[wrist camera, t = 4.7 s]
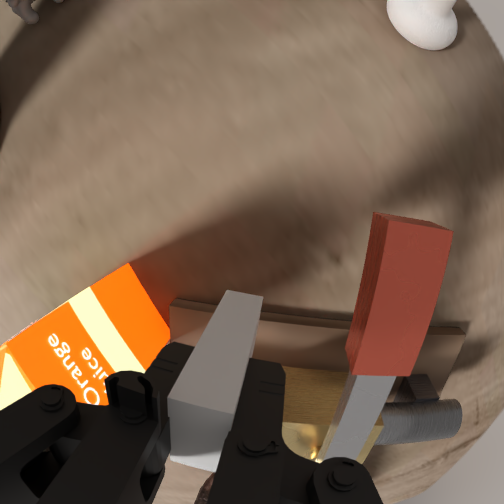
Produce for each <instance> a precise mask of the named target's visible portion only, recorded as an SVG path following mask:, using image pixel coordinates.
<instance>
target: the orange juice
mask: <svg viewBox="0 0 504 504" xmlns="http://www.w3.org/2000/svg"><path fill="white" fill-rule="evenodd" d="M31 324H32V323H31ZM27 327H28V326H27ZM24 329H25V328H24ZM14 336H15V335H14ZM11 338H12V337H11ZM169 339H170V329H169V328H168V326H167V325H166V323H165V322H164V320H163V319H162V317H161V315H160V314H159V312H158V311H157V309H156V308H155V306H154V304H153V303H152V301H151V300H150V298H149V296H148V295H147V293H146V292H145V290H144V288H143V287H142V285H141V283H140V282H139V280H138V278H137V277H136V275H135V273H134V272H133V270H132V268H131V266H130V265H129V263H128V264H126V265H124V266H123V267H121V268H119V269H118V270H116V271H114V272H113V273H111V274H110V275H108V276H106V277H105V278H103V279H102V280H100V281H98V282H97V283H95V284H94V285H92V286H91V287H88V288H86V289H85V290H83V291H82V292H80V293H79V294H77V295H76V296H74V297H72V298H71V299H69V300H68V301H66V302H65V303H63V304H62V305H60V306H59V307H58V308H56V309H55V310H53V311H52V312H50V313H49V314H47V315H46V316H45V317H43V318H42V319H40V320H39V321H37V322H36V323H35V324H33V325H32V326H30V327H29V328H27V329H26V330H25V331H23V332H22V333H20V334H19V335H17V336H16V337H15V338H13V339H12V340H10V339H9V340H10V341H9V342H8V341H6V342H5V343H4V344H3V345H1V346H0V410H2V409H3V408H5V407H7V406H8V405H10V404H12V403H13V402H15V401H17V400H18V399H20V398H22V397H23V396H25V395H27V394H28V393H30V392H32V391H33V390H35V389H37V388H39V387H41V386H44V385H48V384H58V385H63V386H65V387H66V388H68V389H70V390H71V391H72V392H73V394H74V395H75V397H76V401H77V402H82V403H88V404H95V405H108V399H107V394H106V388H105V383H104V379H105V378H106V377H108V376H109V375H110V374H113V373H116V372H119V371H127V370H132V371H137V372H142V373H145V371H146V370H147V368H148V367H150V364H151V363H152V361H153V360H154V359H155V358H156V356H157V355H158V353H159V352H160V350H161V349H162V348H163V347H164V346H165V344H166V343H167V342H168V340H169Z"/></svg>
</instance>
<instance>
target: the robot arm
mask: <svg viewBox="0 0 504 504" xmlns="http://www.w3.org/2000/svg"><path fill="white" fill-rule="evenodd" d="M262 302H263V297H262V296H257V295H252V294H246V293H241V292H236V291H231V290H226V292H225V294H224V296H223V298H222V299H221V301H220V303H219V305H218V307H217V308H216V310H215V312H214V314H213V316H212V317H211V319H210V321H209V323H208V325H207V326H206V328H205V330H204V332H203V334H202V335H201V337H200V339H199V341H198V343H197V344H196V346H195V347H194V346H190V345H186V344H182V343H179V342H175V341H174V342H172V343H170V344H168V345H166V346H165V347H163V348H162V349H161V350H160V352H159V353H158V355H157V356H156V358H155V359H154V360H153V361H152V363H151V364H150V367H148V368H147V370H146V371H145V373H142V372H137V371H132V370H127V371H119V372H116V373H113V374H110V375H109V376H108V377H106V378H105V379H104V383H105V388H106V394H107V399H108V405H95V404H88V403H82V402H77V401H76V397H75V395H74V394H73V392H72V391H71V390H70V389H68V388H66V387H65V386H63V385H58V384H48V385H44V386H41V387H39V388H37V389H35V390H33V391H32V392H30V393H28V394H27V395H25V396H23V397H22V398H20V399H18V400H17V401H15V402H13V403H12V404H10V405H8V406H7V407H5V408H3V409H2V410H0V504H152V503H153V500H154V498H155V496H156V493H157V491H158V489H159V486H160V484H161V482H162V479H163V477H164V473H165V462H166V459H167V457H168V455H169V453H170V460H171V461H174V462H178V463H181V464H185V465H188V466H192V467H196V468H199V469H203V470H207V471H212V472H215V476H214V479H213V483H212V486H211V489H210V493H209V496H208V500H207V503H206V504H383V502H382V500H381V498H380V496H379V494H378V491H377V489H376V487H375V485H374V483H373V480H372V478H371V476H370V474H369V472H368V471H367V470H366V468H365V467H364V466H363V465H362V464H360V463H359V462H357V461H356V460H353V459H350V458H347V457H332V458H329V459H326V460H324V461H323V462H321V463H318V462H315V461H312V460H309V459H306V458H304V457H302V456H300V455H298V454H296V453H294V452H293V451H292V450H291V449H289V447H288V446H287V445H286V444H285V442H284V440H283V437H282V423H283V411H284V395H285V382H286V373H285V371H284V369H283V367H282V366H281V364H280V363H276V362H270V361H265V360H259V359H254V358H252V355H253V350H254V345H255V340H256V334H257V329H258V324H259V318H260V313H261V307H262Z"/></svg>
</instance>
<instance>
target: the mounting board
mask: <svg viewBox="0 0 504 504" xmlns="http://www.w3.org/2000/svg"><path fill="white" fill-rule="evenodd" d="M217 307H218V305H213V304H206V303H200V302H194V301H188V300H182V299H176V298H175V300H174V301H173V302H172V303H171V304H170V305H169V322H170V343H172V342H174V341H175V342H179V343H182V344H186V345H190V346H194V347H195V346H196V344H197V343H198V341H199V339H200V337H201V335H202V334H203V332H204V330H205V328H206V326H207V325H208V323H209V321H210V319H211V317H212V316H213V314H214V312H215V310H216V308H217ZM351 323H352V321H342V320H332V319H322V318H312V317H303V316H294V315H286V314H277V313H269V312H262V311H261V313H260V318H259V324H258V329H257V334H256V340H255V345H254V350H253V355H252V358H254V359H259V360H265V361H270V362H276V363H280V364H281V366H286V367H295V368H305V369H316V370H328V371H343V372H349V370H350V366H349V362H348V358H347V354H346V350H345V345H346V342H347V338H348V334H349V330H350V326H351ZM465 337H466V334H465V333H464V332H463V331H462V330H461V329H460V328H454V327H428V330H427V333H426V336H425V338H424V341H423V344H422V347H421V349H420V352H419V354H418V357H417V360H416V362H415V365H414V367H413V369H412V372H411V374H427V375H428V377H429V379H430V381H431V382H432V384H433V386H434V388H435V390H436V392H437V394H438V396H439V394H440V393H441V391H442V389H443V387H444V385H445V383H446V381H447V378H448V376H449V374H450V372H451V370H452V368H453V366H454V363H455V361H456V359H457V356H458V354H459V352H460V349H461V347H462V345H463V342H464V340H465ZM403 378H404V376H396V379H395V381H394V384H393V386H392V388H391V391H390V393H389V395H388V397H387V400H386V402H393V400H394V398H395V396H396V394H397V392H398V389H399V387H400V385H401V383H402V380H403Z"/></svg>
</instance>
